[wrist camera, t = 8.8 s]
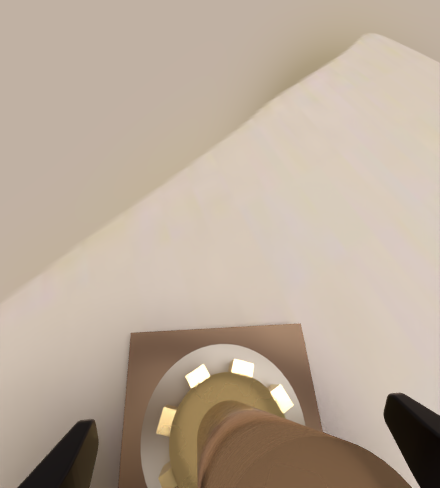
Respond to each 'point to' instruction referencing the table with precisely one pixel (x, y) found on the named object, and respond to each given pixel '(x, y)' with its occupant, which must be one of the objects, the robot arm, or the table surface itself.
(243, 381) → the brass gear
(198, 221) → the table surface
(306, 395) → the gear board
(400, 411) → the robot arm
